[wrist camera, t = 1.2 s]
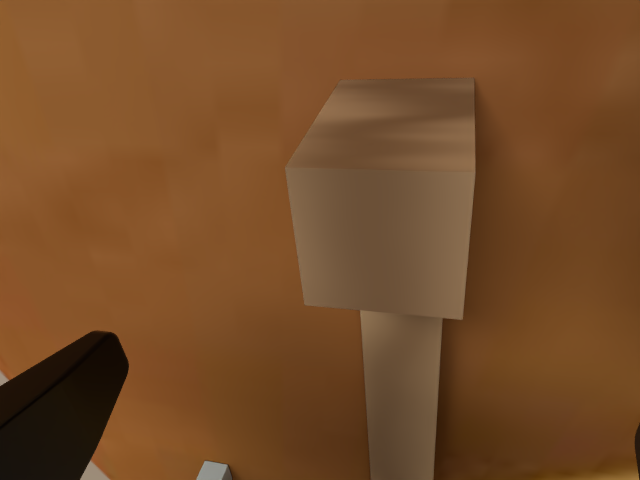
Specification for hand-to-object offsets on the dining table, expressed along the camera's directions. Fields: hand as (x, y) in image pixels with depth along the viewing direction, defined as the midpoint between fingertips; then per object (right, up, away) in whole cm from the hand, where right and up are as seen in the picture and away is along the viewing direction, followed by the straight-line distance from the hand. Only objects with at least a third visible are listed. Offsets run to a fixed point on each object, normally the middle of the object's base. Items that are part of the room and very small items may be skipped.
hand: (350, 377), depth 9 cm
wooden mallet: (+3, -2, +13) cm, 14 cm away
